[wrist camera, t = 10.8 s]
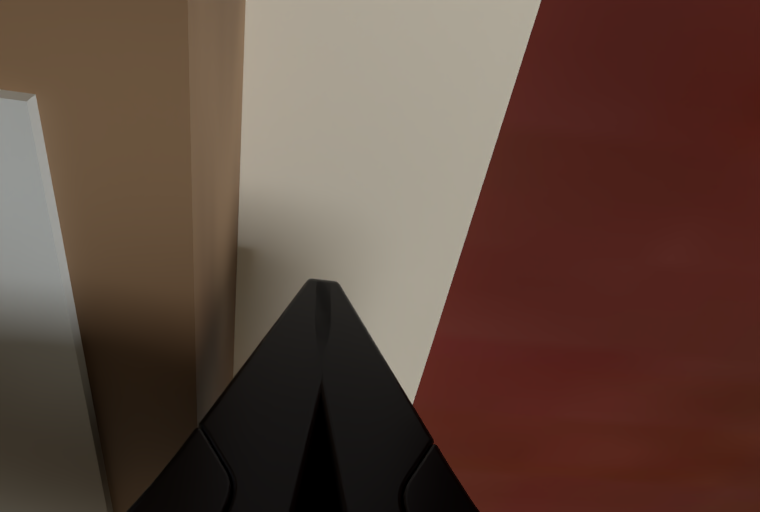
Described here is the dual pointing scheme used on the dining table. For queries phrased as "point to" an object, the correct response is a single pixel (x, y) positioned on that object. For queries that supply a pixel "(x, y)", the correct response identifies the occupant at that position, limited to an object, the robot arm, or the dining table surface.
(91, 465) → the frame
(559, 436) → the dining table surface
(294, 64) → the wall board
